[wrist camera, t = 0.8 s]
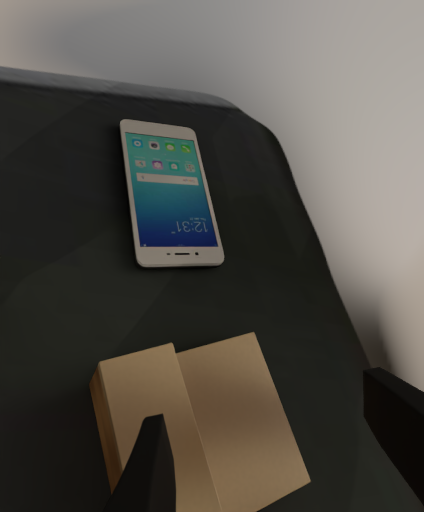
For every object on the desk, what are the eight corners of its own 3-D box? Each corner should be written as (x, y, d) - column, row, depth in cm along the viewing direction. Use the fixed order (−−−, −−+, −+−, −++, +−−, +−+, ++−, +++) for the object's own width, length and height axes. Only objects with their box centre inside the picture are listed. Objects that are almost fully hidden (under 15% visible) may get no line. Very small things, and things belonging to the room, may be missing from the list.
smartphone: (194, 128, 37) (227, 263, 30) (192, 134, 37) (223, 268, 31) (118, 117, 34) (136, 265, 27) (116, 124, 34) (134, 270, 28)
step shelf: (293, 480, 25) (351, 484, 20) (126, 568, 20) (151, 602, 15) (241, 339, 29) (280, 314, 24) (88, 383, 24) (98, 361, 19)
